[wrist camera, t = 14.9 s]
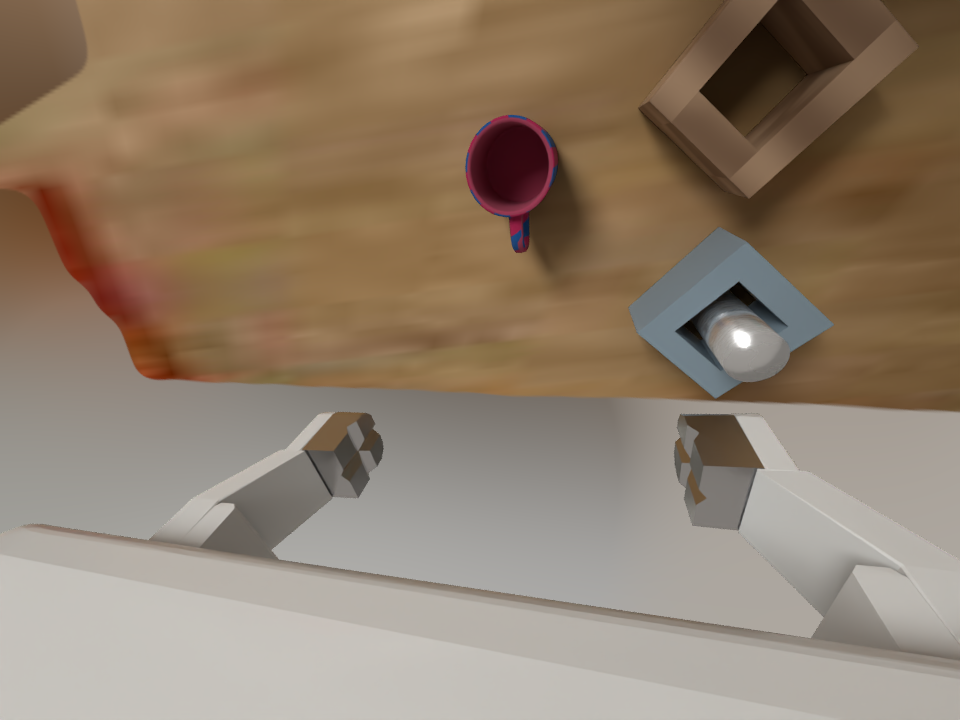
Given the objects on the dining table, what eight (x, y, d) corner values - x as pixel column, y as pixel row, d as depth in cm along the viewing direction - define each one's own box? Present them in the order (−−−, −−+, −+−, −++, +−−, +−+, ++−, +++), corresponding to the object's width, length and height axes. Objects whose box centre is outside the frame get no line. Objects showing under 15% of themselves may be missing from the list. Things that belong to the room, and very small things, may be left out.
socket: (718, 226, 31) (746, 241, 26) (794, 297, 33) (834, 324, 28) (628, 307, 36) (637, 332, 31) (696, 365, 38) (715, 398, 33)
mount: (762, -47, 23) (804, -91, 19) (860, 63, 24) (919, 46, 20) (638, 107, 28) (649, 101, 24) (724, 191, 30) (749, 198, 26)
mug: (560, 118, 30) (557, 111, 24) (553, 241, 35) (549, 259, 29) (482, 123, 31) (462, 118, 25) (486, 241, 36) (470, 258, 30)
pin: (711, 273, 33) (764, 321, 24) (740, 300, 34) (803, 357, 24) (674, 304, 35) (710, 359, 26) (702, 328, 36) (747, 391, 27)
